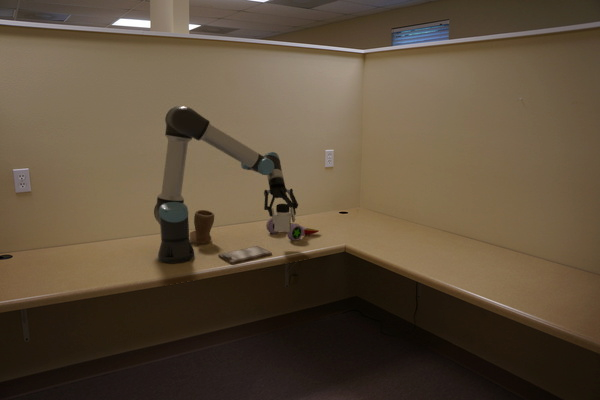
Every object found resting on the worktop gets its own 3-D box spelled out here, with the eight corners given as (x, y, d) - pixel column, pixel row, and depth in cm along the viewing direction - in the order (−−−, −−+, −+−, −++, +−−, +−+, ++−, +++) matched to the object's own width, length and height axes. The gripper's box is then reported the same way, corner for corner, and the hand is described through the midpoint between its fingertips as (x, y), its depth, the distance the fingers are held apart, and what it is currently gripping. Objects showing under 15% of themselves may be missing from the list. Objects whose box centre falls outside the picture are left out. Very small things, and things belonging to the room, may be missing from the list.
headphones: (264, 219, 228) (294, 208, 241) (266, 237, 231) (296, 226, 244) (289, 227, 214) (319, 215, 226) (291, 246, 217) (321, 233, 229)
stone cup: (216, 244, 213) (215, 213, 210) (190, 246, 210) (188, 215, 207) (213, 235, 227) (212, 206, 224) (189, 237, 224) (188, 207, 221)
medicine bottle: (289, 231, 204) (290, 206, 201) (274, 231, 204) (274, 205, 201) (290, 227, 211) (290, 202, 208) (275, 227, 211) (275, 202, 208)
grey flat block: (232, 264, 186) (231, 259, 186) (218, 256, 195) (218, 252, 195) (271, 254, 198) (271, 250, 198) (257, 247, 207) (257, 243, 207)
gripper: (295, 184, 221) (304, 224, 209) (253, 186, 215) (260, 227, 203) (299, 175, 215) (308, 215, 203) (255, 176, 209) (262, 218, 197)
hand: (284, 221), depth 203 cm, fingers closed on medicine bottle, 8 cm apart
